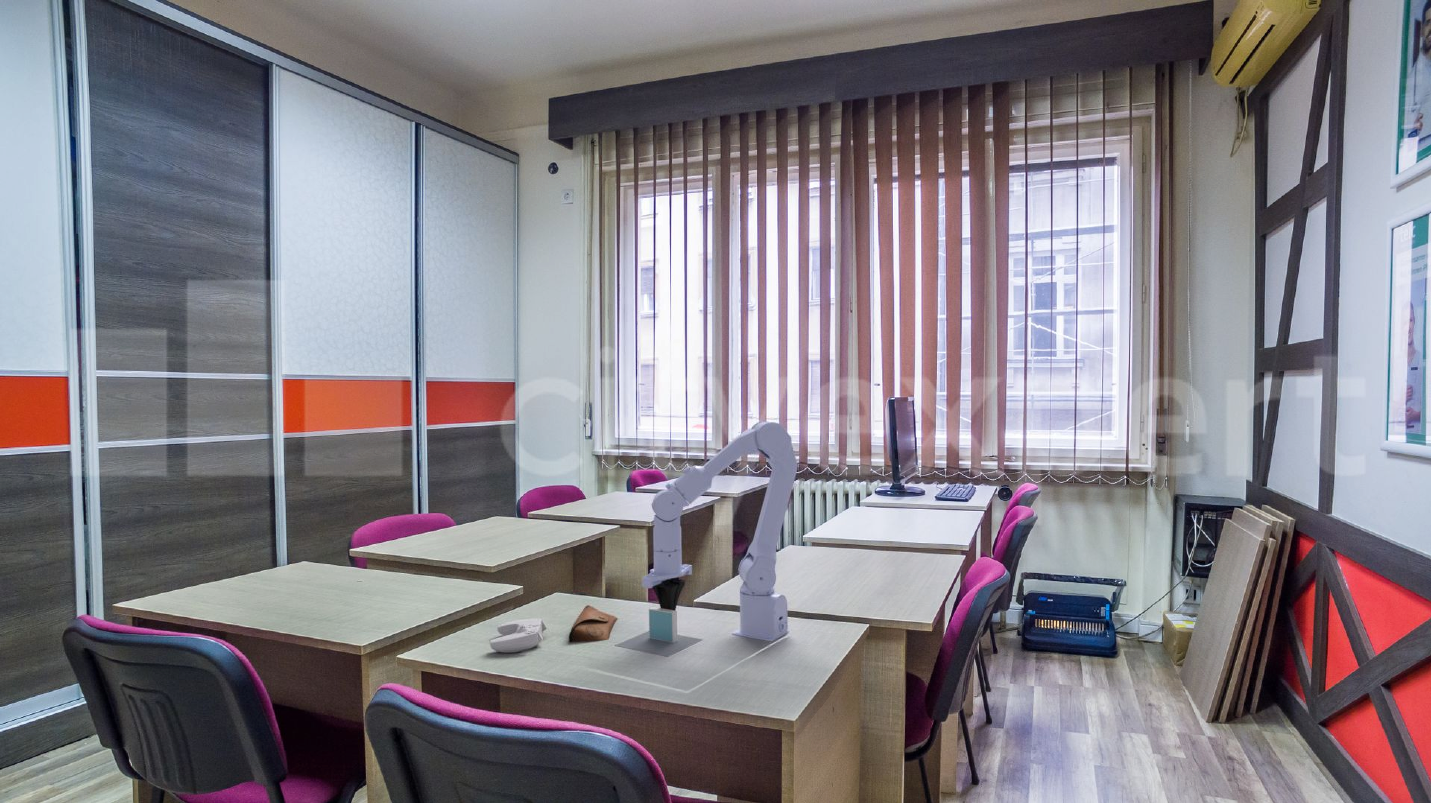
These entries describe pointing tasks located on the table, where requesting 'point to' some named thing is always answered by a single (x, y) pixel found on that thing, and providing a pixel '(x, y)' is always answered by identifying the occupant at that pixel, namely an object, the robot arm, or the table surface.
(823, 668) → the table surface
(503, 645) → the game controller
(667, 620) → the tile
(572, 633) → the sunglasses case
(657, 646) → the mat
